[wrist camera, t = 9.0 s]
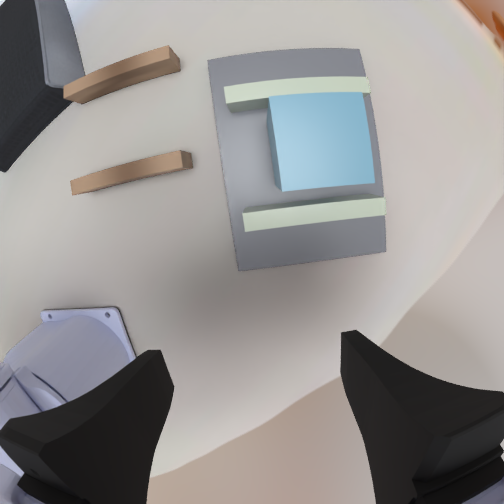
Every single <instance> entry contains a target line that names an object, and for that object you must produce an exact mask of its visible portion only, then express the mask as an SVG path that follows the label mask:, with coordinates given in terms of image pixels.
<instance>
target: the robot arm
mask: <svg viewBox="0 0 504 504" xmlns="http://www.w3.org/2000/svg"><path fill="white" fill-rule="evenodd" d="M107 312H108V313H109V314H110V316H109V315H108V314H107ZM40 315H41V318H42V321H43V323H41V324H40V325H39V326H38V327H37V328H35V329H34V330H33V331H32V332H31V333H29V334H28V335H27V336H26V337H25V338H23V339H22V340H21V341H20V342H19V343H17V344H16V345H15V346H14V347H13V348H12V349H11V350H10V351H9V352H8V353H7V354H6V356H5V358H4V361H3V362H0V504H146V501H147V491H148V483H149V477H150V471H151V466H152V461H153V456H154V453H155V449H156V446H157V443H158V440H159V438H160V435H161V432H162V429H163V426H164V424H165V421H166V418H167V415H168V412H169V410H170V407H171V402H172V397H173V392H174V385H173V382H172V379H171V377H170V374H169V372H168V369H167V366H166V363H165V361H164V358H163V355H162V352H161V350H147V351H145V352H144V353H142V354H141V355H140V356H138V357H137V358H136V357H135V354H134V351H133V349H132V346H131V344H130V341H129V338H128V335H127V333H126V330H125V327H124V324H123V321H122V318H121V315H120V313H119V311H118V310H117V309H116V308H114V307H109V308H90V309H67V310H43V311H42V312H41V313H40ZM340 373H341V377H342V381H343V385H344V389H345V393H346V396H347V398H348V401H349V403H350V406H351V408H352V411H353V414H354V416H355V419H356V421H357V424H358V426H359V429H360V431H361V434H362V437H363V440H364V443H365V448H366V452H367V456H368V461H369V465H370V470H371V475H372V480H373V487H374V493H375V499H376V504H504V461H503V459H502V458H501V455H502V454H503V451H504V450H503V449H502V447H501V446H500V443H501V442H502V441H503V439H504V393H503V392H500V391H490V390H480V389H474V388H469V387H465V386H460V385H456V384H453V383H449V382H446V381H443V380H440V379H437V378H435V377H432V376H430V375H427V374H425V373H423V372H420V371H419V370H416V369H414V368H412V367H410V366H409V365H407V364H405V363H403V362H402V361H400V360H398V359H397V358H395V357H393V356H392V355H390V354H389V353H387V352H386V351H384V350H383V349H381V348H380V347H379V346H377V345H376V344H375V343H373V342H372V341H371V340H369V339H368V338H367V337H365V336H364V335H363V334H361V333H360V332H359V331H357V330H353V331H347V332H341V370H340Z"/></svg>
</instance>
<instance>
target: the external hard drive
mask: <svg viewBox="0 0 504 504" xmlns="http://www.w3.org/2000/svg"><path fill="white" fill-rule="evenodd" d="M84 76H85V73H84V69H83V65H82V61H81V56H80V52H79V48H78V44H77V40H76V36H75V32H74V29H73V25H72V22H71V18H70V15H69V12H68V9H67V7H66V4H65V1H64V0H5V2H4V3H3V4H2V5H1V6H0V171H2V172H6V171H7V170H8V169H9V168H10V167H11V165H12V164H13V163H14V162H15V161H16V159H17V158H18V157H19V156H20V155H21V153H22V152H23V151H24V150H25V149H26V148H27V147H28V145H29V144H30V143H31V142H32V141H33V140H34V139H35V138H36V137H37V136H38V135H39V134H40V133H41V132H42V131H43V130H44V129H45V127H46V126H47V125H48V124H49V123H50V122H51V121H52V120H53V119H54V118H56V117H57V116H58V115H59V114H60V113H61V112H62V111H63V110H64V109H65V108H66V107H67V106H69V105H70V104H71V103H72V102H73V101H70V100H67V99H64V86H65V85H67V84H69V83H71V82H73V81H75V80H77V79H79V78H81V77H84Z"/></svg>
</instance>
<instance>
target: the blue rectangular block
mask: <svg viewBox="0 0 504 504" xmlns="http://www.w3.org/2000/svg"><path fill="white" fill-rule="evenodd" d="M266 122H267V129H268V136H269V143H270V150H271V157H272V164H273V172H274V179H275V186H276V187H278V188H279V189H280V190H281V191H282V192H285V191H293V190H302V189H312V188H322V187H333V186H344V185H356V184H369V183H375V177H374V167H373V158H372V150H371V142H370V135H369V128H368V122H367V116H366V110H365V104H364V99H363V94H362V92H322V93H303V94H289V95H278V96H269V98H268V110H267V121H266Z"/></svg>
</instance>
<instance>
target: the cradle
mask: <svg viewBox="0 0 504 504" xmlns="http://www.w3.org/2000/svg"><path fill="white" fill-rule="evenodd" d="M178 71H180V61H179V58H178V57H177V55H176V54H175V53H174V52H173V50H172V49H171V48H170V47H169V45H168V46H164V47H161V48H157V49H154V50H151V51H148V52H145V53H142V54H139V55H136V56H133V57H130V58H127V59H124V60H122V61H119V62H116V63H114V64H111V65H109V66H106V67H104V68H102V69H99V70H97V71H95V72H92V73H90V74H88V75H86V76H84V77H81V78H79V79H77V80H75V81H73V82H71V83H69V84H67V85H65V86H64V99H67V100H70V101H74V102H77V103H81V104H84V103H86V102H88V101H91V100H93V99H96V98H98V97H101V96H103V95H106V94H108V93H111V92H114V91H116V90H119V89H122V88H125V87H128V86H130V85H133V84H136V83H140V82H143V81H146V80H149V79H153V78H156V77H159V76H163V75H167V74H170V73H174V72H178ZM190 168H193V164H192V158H191V153H188V152H185V151H181V150H180V151H175V152H171V153H166V154H162V155H158V156H154V157H149V158H145V159H141V160H138V161H134V162H130V163H126V164H123V165H119V166H116V167H112V168H109V169H105V170H102V171H99V172H96V173H92V174H89V175H86V176H83V177H80V178H77V179H74V180H71V181H70V183H71V190H72V195H77V194H83V193H88V192H93V191H97V190H100V189H104V188H108V187H111V186H115V185H119V184H123V183H127V182H131V181H135V180H139V179H143V178H148V177H152V176H157V175H161V174H166V173H170V172H175V171H180V170H185V169H190Z"/></svg>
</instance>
